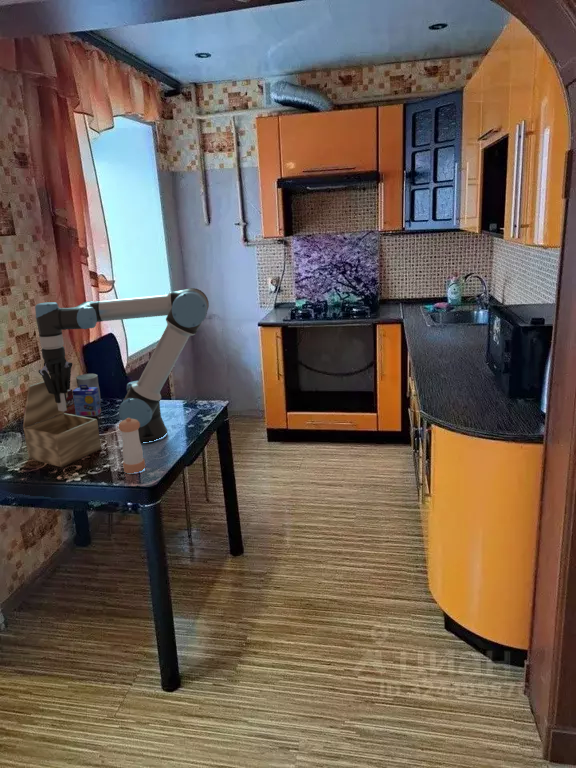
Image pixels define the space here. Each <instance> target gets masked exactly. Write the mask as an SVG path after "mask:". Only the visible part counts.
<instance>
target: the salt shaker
mask: <svg viewBox="0 0 576 768" xmlns="http://www.w3.org/2000/svg"><path fill="white" fill-rule="evenodd" d="M139 427H140V423H139V421H138V420H136V419H131V418H127V419H125V420H123V421H122V420H121V421H120V422H119V423H118V430H119V431H120V432H121V437H122V457H123V459H122V460H123V462H122V465H123V473H124V472H126V473H134V472H139V471H142V470H143V469H144V468H145V467H146V462H145V461H146V459H145V458H144V451H143V447H142V444H141V443H140V440H139V432H138V429H139Z"/></svg>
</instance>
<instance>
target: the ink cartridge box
mask: <svg viewBox="0 0 576 768" xmlns="http://www.w3.org/2000/svg"><path fill="white" fill-rule="evenodd" d="M79 386H80V388H78V387H76V388H75V389H72V392H73V399H74V406H75V412H76V415H77V416H82V417H98V416H99V415H100V414H101V413H102V407H101V403H100V400H99V393H98V388H97V387H88V386H87V385H79ZM81 386H86V387H81Z"/></svg>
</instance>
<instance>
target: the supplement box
mask: <svg viewBox="0 0 576 768" xmlns="http://www.w3.org/2000/svg"><path fill="white" fill-rule="evenodd" d="M66 408H67V410H66V411H64V413H67V414H72V415H76V410H75V404H74V397H73V389H71V388H70V389H69V390H68V393H67V399H66ZM62 414H63V413H62ZM59 415H60V414H59ZM56 416H58V415H56Z"/></svg>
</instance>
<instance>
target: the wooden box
mask: <svg viewBox="0 0 576 768" xmlns="http://www.w3.org/2000/svg"><path fill="white" fill-rule="evenodd" d="M22 428H23V432H24V437H25V438H24V440H25V444H26V451H27V455H28V459H29V460H32V459H33V461H37V462H41V463H44V464H48V465H51V466H57V467H59V468H63V467H66V466H67V465H70V464H72V463H74V462H77V461H79V460H81V459H83V458H85V457H87V456H90V455H92V454H93V453H96V452H98V451H101V450H102V446H101V445H102V444H101V439H100V437H101V436H100V431H99V423H98V419H97V418H92V417H89V416H77V415H72V414H67V413H63V414H60V415H58V416H54V417H51V418H48V419H46V420H43V421H40V422H38V423H35V424H32V425H29V426H27V427H22Z"/></svg>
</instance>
